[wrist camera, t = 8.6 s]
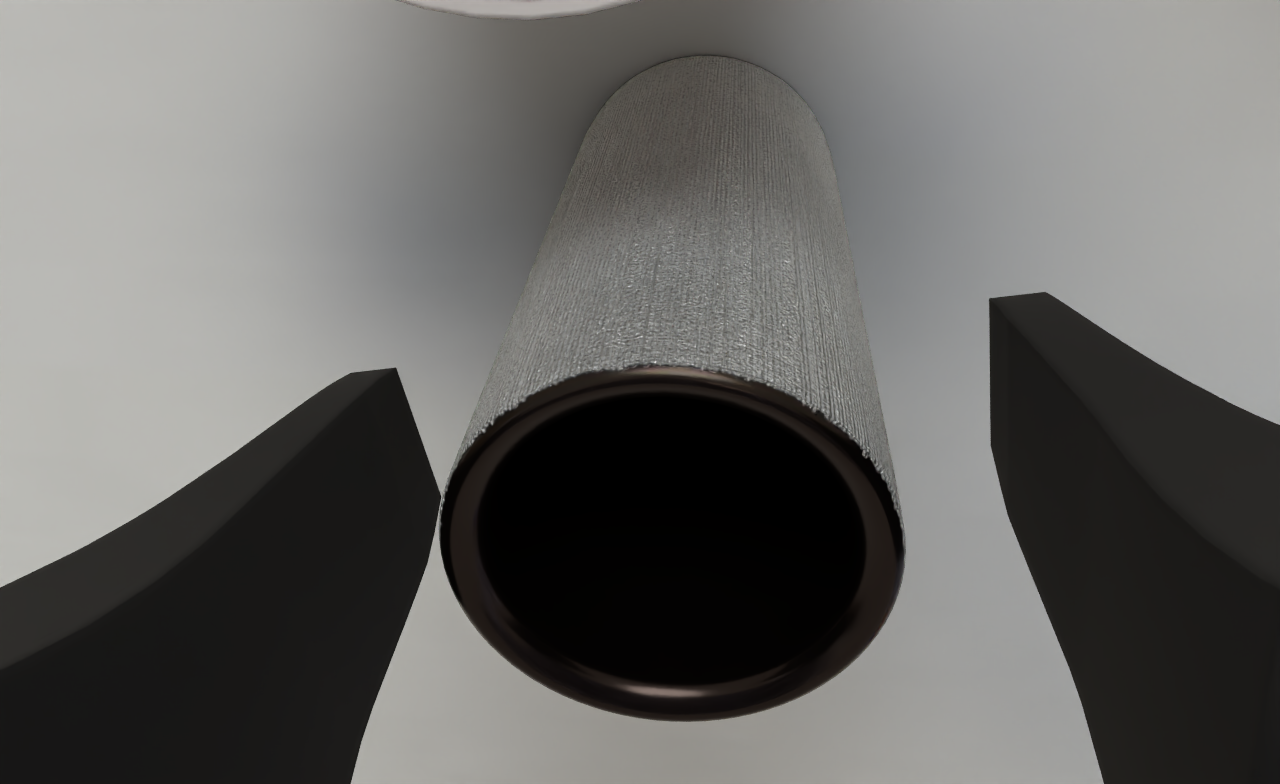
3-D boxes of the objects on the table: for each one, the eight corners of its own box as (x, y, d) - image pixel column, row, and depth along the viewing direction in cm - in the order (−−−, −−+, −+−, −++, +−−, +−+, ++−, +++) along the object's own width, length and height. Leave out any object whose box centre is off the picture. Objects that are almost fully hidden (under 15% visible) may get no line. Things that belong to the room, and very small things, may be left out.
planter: (561, 266, 20) (418, 680, 11) (601, 26, 17) (457, 318, 9) (794, 316, 20) (828, 763, 11) (866, 83, 18) (980, 428, 9)
